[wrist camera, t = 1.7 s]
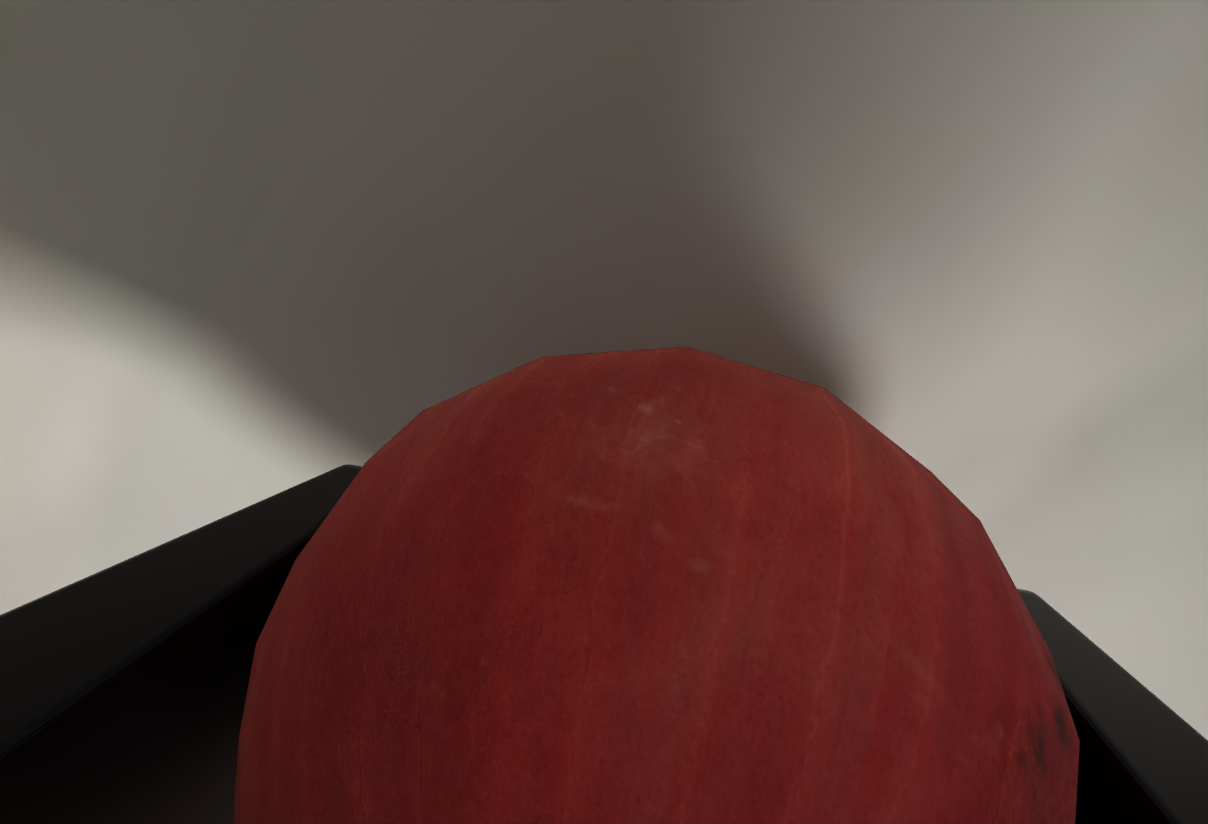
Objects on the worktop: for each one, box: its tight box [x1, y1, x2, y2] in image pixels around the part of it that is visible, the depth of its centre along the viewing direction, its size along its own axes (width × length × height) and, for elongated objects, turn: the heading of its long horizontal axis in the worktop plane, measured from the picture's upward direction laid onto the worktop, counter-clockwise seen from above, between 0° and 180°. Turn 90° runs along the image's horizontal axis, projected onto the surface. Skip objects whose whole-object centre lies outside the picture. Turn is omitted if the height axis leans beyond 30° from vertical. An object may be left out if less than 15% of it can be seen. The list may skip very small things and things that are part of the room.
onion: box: [232, 347, 1080, 824], centre depth 6 cm, size 6×6×8 cm
